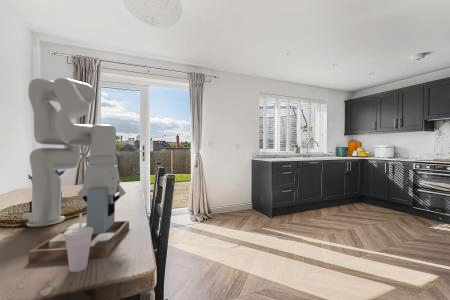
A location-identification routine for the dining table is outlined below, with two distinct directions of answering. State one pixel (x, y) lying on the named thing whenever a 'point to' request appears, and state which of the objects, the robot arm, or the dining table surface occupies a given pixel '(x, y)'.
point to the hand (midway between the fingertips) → (101, 214)
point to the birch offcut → (58, 242)
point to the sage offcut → (76, 226)
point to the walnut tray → (59, 254)
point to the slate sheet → (98, 210)
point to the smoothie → (78, 246)
